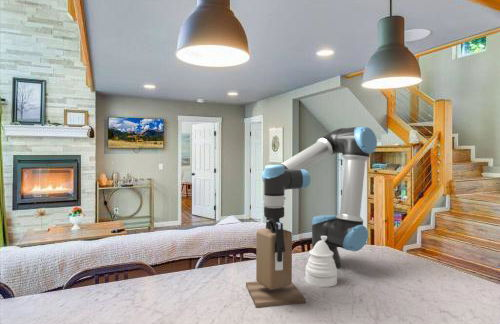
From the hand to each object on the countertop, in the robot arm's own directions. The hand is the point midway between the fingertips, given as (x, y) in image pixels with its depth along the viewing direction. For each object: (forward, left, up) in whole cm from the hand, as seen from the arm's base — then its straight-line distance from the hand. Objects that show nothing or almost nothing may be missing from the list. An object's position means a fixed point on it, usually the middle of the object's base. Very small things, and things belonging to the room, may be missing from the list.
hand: (274, 264), depth 120 cm
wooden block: (0, 0, -8) cm, 8 cm away
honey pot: (-22, +10, -12) cm, 27 cm away
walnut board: (0, 0, -11) cm, 11 cm away
